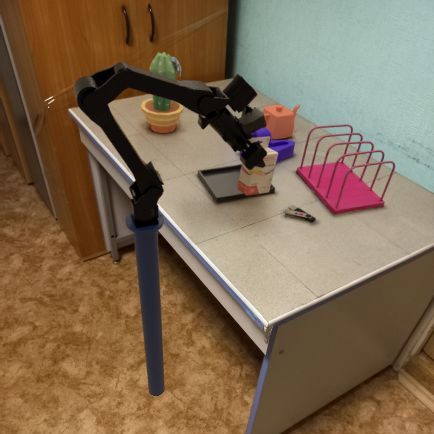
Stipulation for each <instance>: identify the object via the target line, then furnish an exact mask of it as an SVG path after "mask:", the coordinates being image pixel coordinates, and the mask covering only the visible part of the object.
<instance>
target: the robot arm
mask: <svg viewBox="0 0 434 434" xmlns="http://www.w3.org/2000/svg"><path fill="white" fill-rule="evenodd" d="M127 89H131V90H134V91H138V92H141V93H145V94H148V95H151V96H153V95H155V96H158V97H162V98H165V99H168V100H172V101H175V102H177V103H179V104H181V105H183V108H186V109H187V110H188V111H191V112H193V113H195V114H196V115H197V116H198V117H197V124H198V126H199V127H200V129H201V130H203V131H204V130H206V128H207V127H208V126H210V127H211V129H212V130H214V131H215V133H217V134H218V136H220V138H221V139H222V140H223V142H225V143H226V144H227V145H228V146H229V147H230V148H231V149H232V151H233V152H234V153H237V152H239V153H240V152H242V154H241V155H240V157H239V161H240V162H241V164H242V163H243V164H244V165H245V167H246V168H247V169H248V170H252V169H253V168H254V167H255V166H256V167H260V168H264V167H265V163H264V161H263V158H264V157H265V156H266V155H267V151H266V150H265V149H264V148H263V147H262V146H261V144H260V143H259V142H253V143H251V141H250V139H251V138H252V137H253V135H252V134H251V133H254V132H256V131H258V130H259V129H261V128H264V127H266V126H267V123H266V120H265V116H264V113H263V110H261V109H260V108H258V107H256V106H254V107H252V106H250V104H251V103H252V102H253V101H254V100H255V99H256V98H257V97H258V96H259V94H258V92H257V91H256V89H255V88H253V86H252V85H251V84H250V83H249V82H247V80H245V78H244V77H243V76H242V75H241V74H240V73H237V74H236V75H234V77H233V78H232V80H231V81H230V82H229V83H228V84H227V85H226V86H225V88H224V89H223V90H222V89H221V88H220V87H219V86H214V85H207V84H206V83H205V82H204V81H200V80H191V79H186V80H185V79H183V80H179V79H178V80H177V79H176V80H174V79H171V78H168V77H165V76H162V75H158V74H155V73H152V72H150V70H149V71H148V70H145V69H142V68H140V67H136V66H133V65H130V64H128V63H127V62H125V61H120V62H116V63H115V64H114V65H112V66H110V67H107V68H103V69H100V70H98V71H96V72H94V73H92V74H91V75H86V76H81V77H79V78H78V79H77V80H76V81H75V82H74V84H73V93H74V96H75V99H76V104H77V106H78V108H79V110H80V111H81V112H82V113H83V114H84V115H85V116H86V117H87V118H88V119H89V120H90V121H91V122H93V123H94V124H95V125H97V126H98V127H99V128H100V129H101V131H102V132H103V134H104V135H105V136H106V138H107V139H108V140H109V143H111V145H112V146H113V148H114V149H115V151H116V152H117V153H118V156H120V157H121V159H122V161H123V162H124V163H125V165H126V166H127V168H128V169H129V171H130V172H131V174H132V175H133V178H134V181H133V182H132V183H131V184H130V185H129V187H128V190H129V193H130V195H131V198H130V209H131V212H132V213H131V218H132V220H133V222H134V225H135V227H136V228H140V227H146V226H151V225H157V224H159V221H158V218H159V213H160V211H159V209H160V208H159V204H158V202H159V200H160V198H161V197H162V196H163V194H164V192H165V188H164V185H165V183H164V180H163V179H162V176H161V174H160V172H159V171H158V170H157V169H155V166H154V163H153V162H152V160H150V161H148V162H145V161H144V160H143V159H142V158H141V156H140V154H139V153H138V151H137V150H136V148H135V147H134V145H133V144H132V142H131V140H130V139H129V137H128V136H127V134H126V132H124V130H123V129H122V127H121V125H120V124H119V122H118V121H117V119H116V118H115V116H114V115H113V113H112V110H111V108H110V106H109V104H111V103H112V102H113V101H115V100H116V99H117V97H119V96H120V95H121V94H122V93H123V92H124V91H126V90H127ZM227 106H228V107H229V108H230V109H231V110H232V111H233V112H234V113H236V112H237V113H238V114H240V113H241V114H240V117H239V118H238V117H237V115H234V114H233V113H232V111H230V110H229V108H227ZM247 144H248V145H249V147H248V146H247ZM244 150H245V151H244Z"/></svg>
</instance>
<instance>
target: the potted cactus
mask: <svg viewBox="0 0 434 434" xmlns="http://www.w3.org/2000/svg"><path fill="white" fill-rule="evenodd" d="M182 69H183V68H182V66H181V64H180V61H179V60H178V59H177V58H176V57H175V56H172V55H170V54H169V53H166V52H165V51H163V52H157V54H156V55H155V57H154V58H153V59H152V61H151V63H150V65H149V72H152V73H155V74H158V75H162V76H165V77H168V78H171V79H174V80H177V73H179V78H181V76H182ZM140 109H141V112H142V113H143V114H144V116H145V119H146V121H147V122H148V124H150V129H151V130H152V131H153V132H155V133H159V134H168V133H172V132H173V131H175V129H176V125H177V123H178V122H179V120H180V118H181V115H182V114H183V113H184V106H183V105H181V104H179V103H177V102H175V101H172V100H168V99H165V98H162V97H158V96H155V95H152V98H147V99H145V100H144V101H142V102H141V103H140Z"/></svg>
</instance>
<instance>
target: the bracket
mask: <svg viewBox="0 0 434 434" xmlns="http://www.w3.org/2000/svg"><path fill="white" fill-rule="evenodd" d="M251 134H252V135H253V137H252V138H257V137H270V141H269V144H268V148H270V149H272V150H274V151H276V152H277V153H278V157H277V161H276V164H278V163H281V162H282V161H285V160H287V159H289V158H292V157H293V155H294V151H295V147H296V142H295V141H294V140H292V139H275V140H274V139H271V133H270V131H269V130H268V129H267V128H266V127H264V128H261V129H259V130H258V131H256V132H254V133H251ZM257 142H259V143H262V141H257ZM241 154H242V152H240V151H239V155H240V156H241Z"/></svg>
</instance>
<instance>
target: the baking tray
mask: <svg viewBox="0 0 434 434" xmlns="http://www.w3.org/2000/svg"><path fill="white" fill-rule="evenodd" d="M241 166H242V163H239V164H233V165H232V164H231V165H225V166H219V167H212V168H205V169H199V170H197V176H198V178H199V179H200V181H201V182H202V184H203V185H204V187H205V188H206V190H207V192H208V193H209V194H210V196H211V197H212V199H213V200H214V202H215V203H216V204H220V203H224V202H225V203H226V202H231V201H236V200H237V201H238V200H244V199H249V198H255V197H259V196H267V195H272V194H275V192H276V187H275V186H274V185H273V184H272V183H271V186H270V190H269V192H267V193H261V194H255V195H248V196H246V195H245V194H244V193H242V192H241V191H239V190H238V189H237V187H238V182H239V176H240V171H241Z"/></svg>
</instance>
